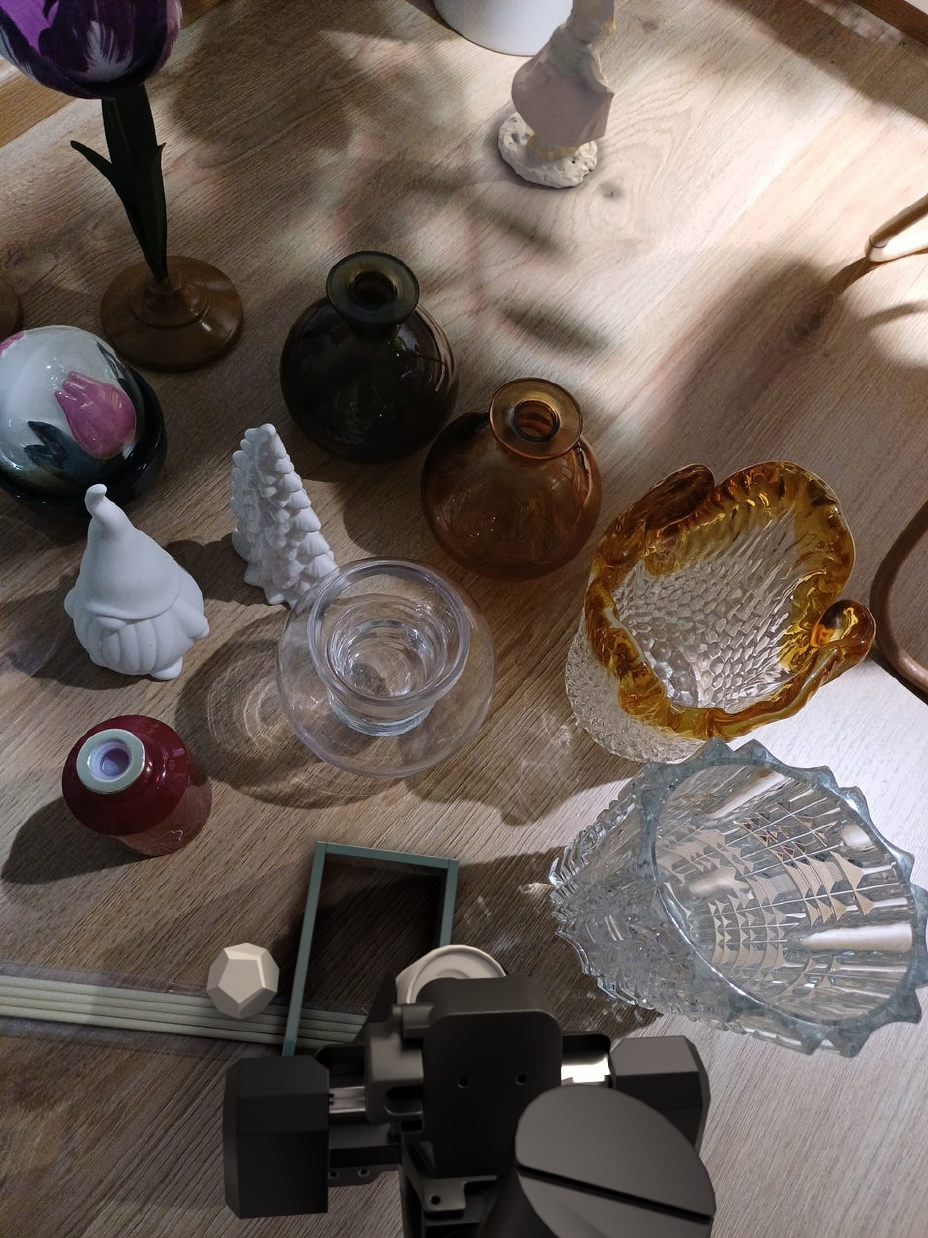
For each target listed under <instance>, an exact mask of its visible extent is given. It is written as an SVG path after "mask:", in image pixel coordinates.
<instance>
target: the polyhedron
mask: <svg viewBox="0 0 928 1238" xmlns="http://www.w3.org/2000/svg"><path fill="white" fill-rule="evenodd" d="M279 976H280V968H279V967H278V965H277V963H276V962H275V960H274V958H273V957H272V955H271V954H270V952H269V950H268V949H267V948H264V947H262V946H258V945H256V944H252V943H249V942H244V943H240V944H236V945H231V946H227V947H224V948H223V949H222V950H221V952H219V954H218V956H217V957H216V959H215V960H214V961H213V963H212V964H211V965H210V967H209V970H208V977H207V983H206V990H205V992H206V993H207V995H208V996H209V998H210V999H211V1001H212V1003H213V1004H214V1005H215V1007H216V1009H217V1010H218V1011H219V1012H221V1013H223V1014H225V1015H228V1016H231V1017H234V1018H236V1019H243V1018H247V1017H250V1016H253V1015H257V1014H260V1013H263V1012H264V1011H265V1009H266V1008H267V1007H268V1006H269V1004H270V1003H271V1001H272V1000H273V999H274V997H275V996H276V994H278V987H279V985H278V984H279Z"/></svg>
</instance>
